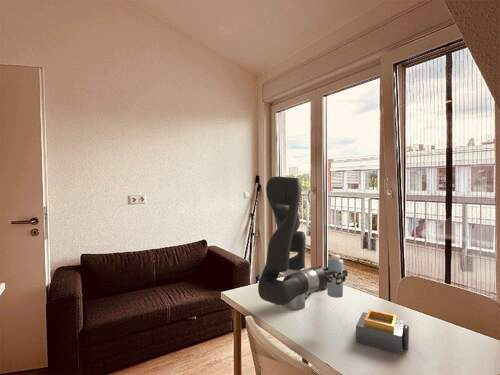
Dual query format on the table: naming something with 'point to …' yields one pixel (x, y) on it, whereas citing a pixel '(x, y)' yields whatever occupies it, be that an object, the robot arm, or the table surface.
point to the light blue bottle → (337, 266)
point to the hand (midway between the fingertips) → (339, 270)
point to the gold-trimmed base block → (382, 332)
